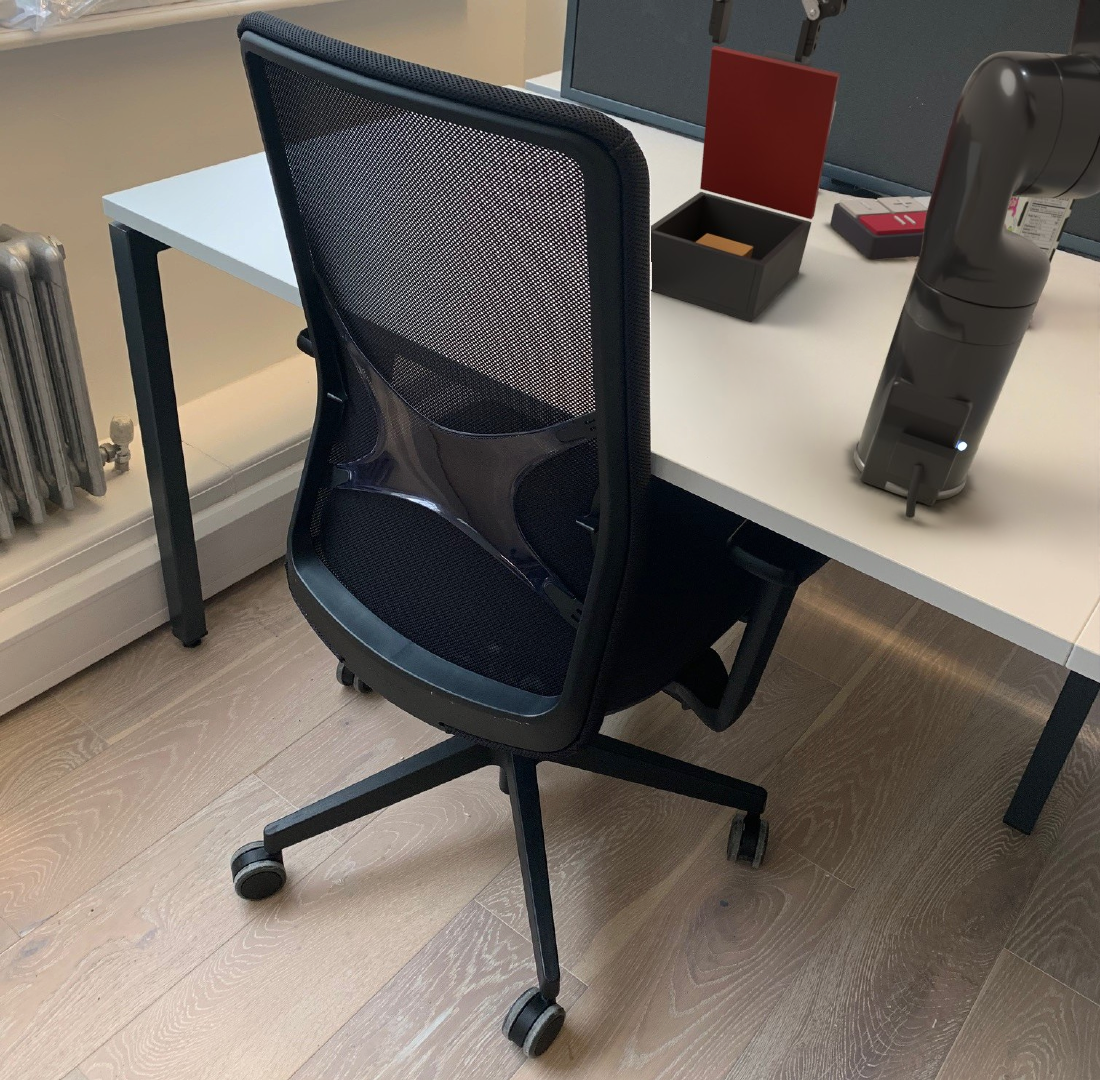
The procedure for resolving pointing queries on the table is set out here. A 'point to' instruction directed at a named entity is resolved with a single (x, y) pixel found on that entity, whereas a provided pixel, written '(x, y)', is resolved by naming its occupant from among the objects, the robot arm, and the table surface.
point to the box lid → (767, 129)
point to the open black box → (726, 255)
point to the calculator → (882, 225)
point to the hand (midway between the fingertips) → (759, 51)
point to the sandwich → (726, 245)
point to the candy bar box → (1039, 220)
